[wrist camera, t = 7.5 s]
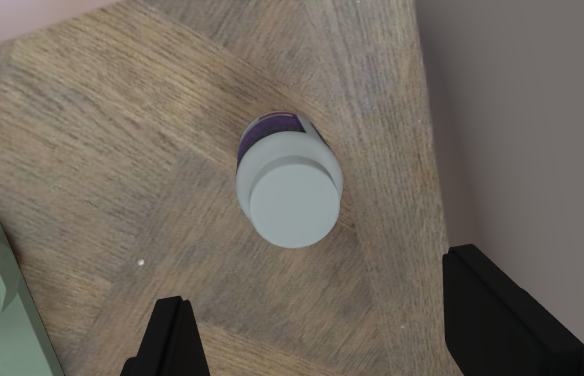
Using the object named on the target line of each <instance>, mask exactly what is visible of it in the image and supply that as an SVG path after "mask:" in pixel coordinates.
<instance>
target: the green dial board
mask: <svg viewBox="0 0 584 376" xmlns="http://www.w3.org/2000/svg"><path fill="white" fill-rule="evenodd" d="M0 376H64V373H63V371H62V368H61V366H60V364H59V361H58V359H57V357H56V354H55V352H54V349H53V347H52V345H51V342H50V340H49V338H48V335H47V333H46V330H45V328H44V326H43V323H42V321H41V319H40V316H39V314H38V311H37V309H36V307H35V304H34V302H33V300H32V297H31V295H30V292H29V290H28V288H27V285H26V283H25V281H24V278H23V276H22V273H21V271H20V269H19V266H18V264H17V261H16V259H15V257H14V254H13V252H12V250H11V247H10V245H9V242H8V240H7V238H6V235H5V233H4V231H3V228H2V226H1V223H0Z"/></svg>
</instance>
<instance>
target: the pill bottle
mask: <svg viewBox="0 0 584 376" xmlns="http://www.w3.org/2000/svg"><path fill="white" fill-rule="evenodd" d="M342 192H343V174H342V170H341V166H340V164H339V162H338V160H337V157H336V156H335V154H334V153H333V151H332V150H331V148H330V147H329V146H328V144H327V143H326V142H325V140H324V139H323V137H322V136H321V135H320V133H319V132H318V130H317V129H316V128H315V127H314V125H313V124H311V123H310V122H309V121H308V120H307V119H306V118H304V117H302V116H301V115H299V114H296V113H293V112H289V111H273V112H269V113H266V114H263V115H261V116H259V117H258V118H256V119H255V120H254V121H253V122H252V123H250V124H249V126H248V127H247V128H246V130H245V131H244V133H243V135H242V137H241V140H240V143H239V148H238V162H237V171H236V194H237V198H238V202H239V204H240V207H241V208H242V210H243V212H244V213H245V215H246V216H247V217H248V219H249V220H250V221H251V222H252V223H253V225H254V227H255V229H256V230H257V232H258V233H259V234H260V235H261V236H262V237H263V238H264V239H266V240H267V241H269V242H270V243H272V244H275V245H277V246H280V247H284V248H301V247H306V246H309V245H312V244H314V243H316V242H318V241H319V240H321V239H322V238H324V237H325V236H326V235H327V234H328V233H329V232H330V230H331V229H332V228H333V226H334V225H335V222H336V220H337V218H338V215H339V211H340V199H341V196H342Z"/></svg>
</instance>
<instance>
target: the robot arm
mask: <svg viewBox="0 0 584 376" xmlns="http://www.w3.org/2000/svg"><path fill="white" fill-rule="evenodd" d="M442 265H443V297H444V328H445V341H446V345H447V348H448V350H449V352H450V354H451V356H452V357H453V359H454V360H455V362H456V363H457V365H458V367H459V368H460V370H461V371H462V373H463V375H464V376H584V344H583V343H582V342H581V341H580V340H579V339H578V338H576V337H575V336H574V335H573V334H572V333H571V332H570V331H569V330H568V329H567V328H565V327H564V326H563V325H562V324H561V323H560V322H559V321H558V320H557V319H556V318H555V317H554V316H553V315H551V314H550V313H549V312H548V311H547V310H546V309H545V308H544V307H543V306H542V305H541V304H539V303H538V302H537V301H536V300H535V299H534V298H533V297H532V296H531V295H530V294H529V293H528V292H526V291H525V290H524V289H522V288H520V287H519V286H518V285H517V284H516V283H515V282H513V281H512V280H511V279H510V278H509V277H508V276H507V275H506V274H505V273H504V272H503V271H501V270H500V268H498V267H497V266H496V265H495V264H494V263H493V262H492V261H491V260H490V259H489V258H488V257H487V256H485V255H484V254H483V253H482V252H481V251H480V250H479V249H478V248H477V247H476V246H475V245H473V244H467V245H461V246H456V247H450V248H449V251H448V254H444V255H443V257H442ZM120 376H210V372H209V369H208V365H207V361H206V358H205V354H204V350H203V347H202V343H201V339H200V336H199V332H198V328H197V324H196V321H195V317H194V313H193V310H192V306H191V303H190V301H189V300H184V301H183V299H182V298H181V296H175V297H169V298H163V299H158V300H157V302H156V304H155V307H154V310H153V312H152V315H151V318H150V321H149V323H148V326H147V329H146V332H145V334H144V337H143V340H142V343H141V345H140V348H139V351H138V354H137V356H136V357H131V358H129V359H127V361H126V362H125V364H124V366H123V369H122V372H121V374H120Z"/></svg>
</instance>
